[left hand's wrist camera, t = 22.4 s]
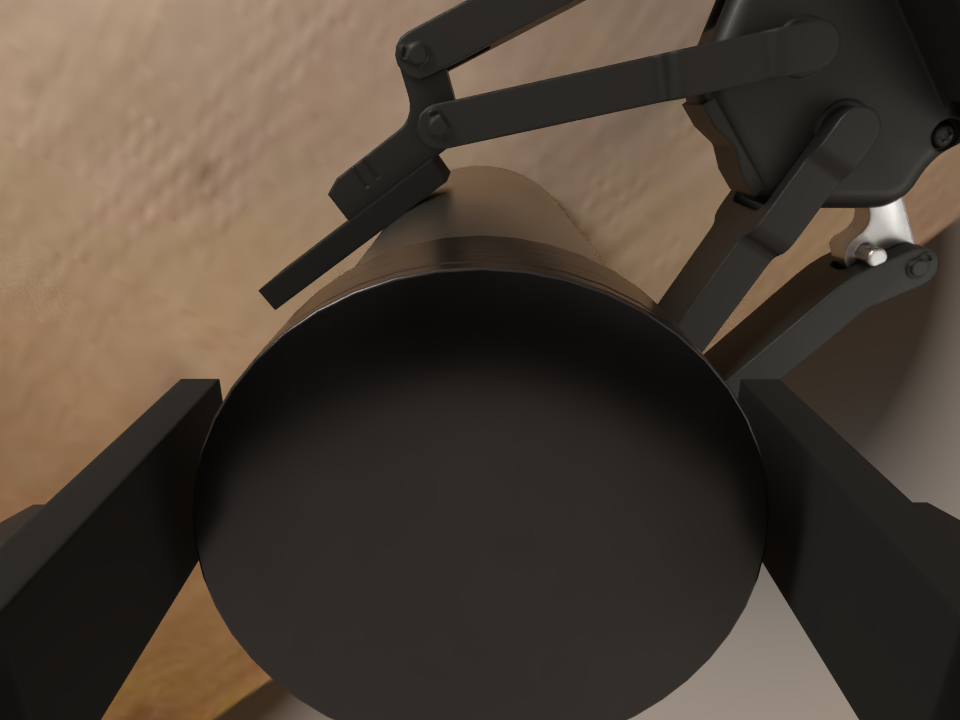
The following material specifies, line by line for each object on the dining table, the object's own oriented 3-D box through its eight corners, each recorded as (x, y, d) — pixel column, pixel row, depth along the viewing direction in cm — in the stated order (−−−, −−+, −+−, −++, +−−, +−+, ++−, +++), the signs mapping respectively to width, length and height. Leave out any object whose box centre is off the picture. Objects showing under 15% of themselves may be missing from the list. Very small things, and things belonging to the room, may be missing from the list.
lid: (335, 691, 14) (310, 794, 12) (161, 310, 11) (88, 359, 9) (747, 606, 14) (796, 700, 11) (679, 171, 11) (730, 190, 8)
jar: (519, 387, 30) (569, 757, 13) (351, 307, 29) (166, 602, 12) (614, 225, 27) (831, 424, 10) (435, 128, 26) (353, 176, 9)
